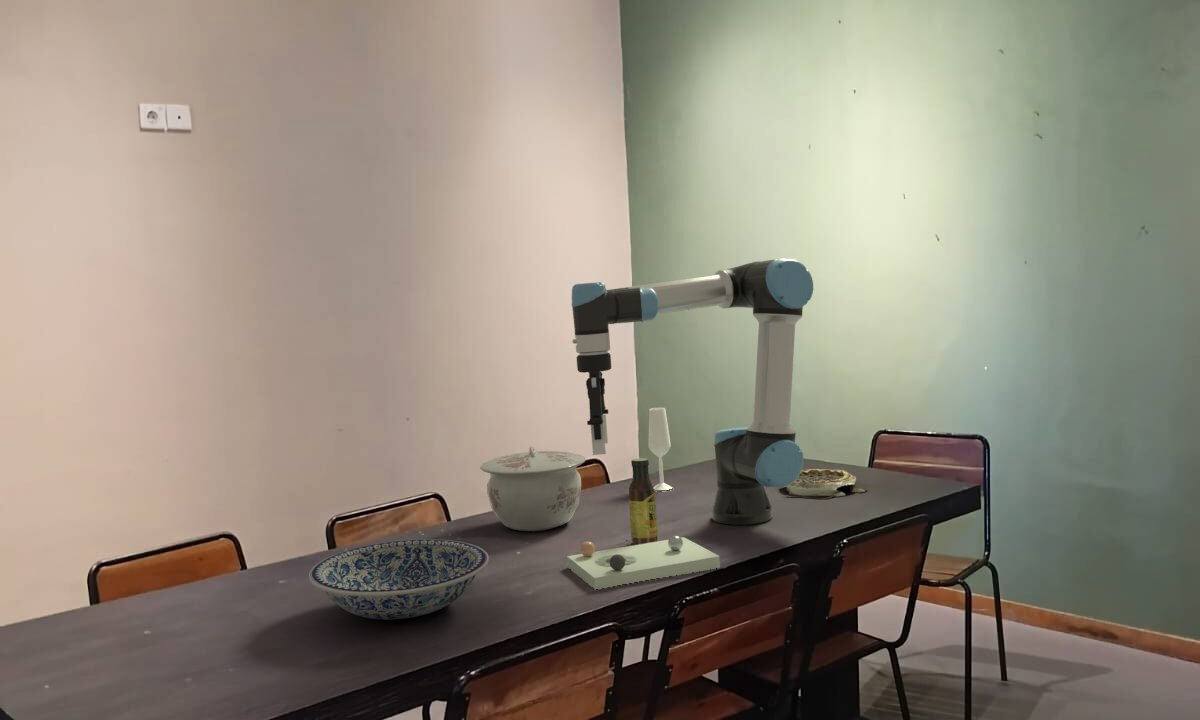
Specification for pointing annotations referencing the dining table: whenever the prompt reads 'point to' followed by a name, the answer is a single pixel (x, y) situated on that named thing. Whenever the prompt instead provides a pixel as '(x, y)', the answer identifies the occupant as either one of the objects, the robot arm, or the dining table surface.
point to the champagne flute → (659, 440)
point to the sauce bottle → (642, 504)
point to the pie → (822, 483)
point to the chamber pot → (534, 488)
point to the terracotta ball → (587, 548)
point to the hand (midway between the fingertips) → (600, 448)
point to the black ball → (617, 562)
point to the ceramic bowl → (399, 576)
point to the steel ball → (675, 543)
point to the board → (642, 563)
